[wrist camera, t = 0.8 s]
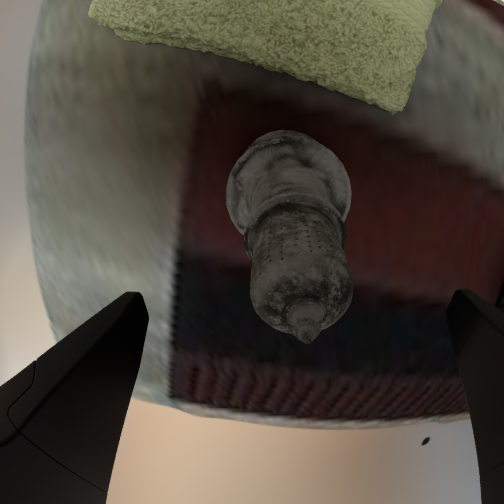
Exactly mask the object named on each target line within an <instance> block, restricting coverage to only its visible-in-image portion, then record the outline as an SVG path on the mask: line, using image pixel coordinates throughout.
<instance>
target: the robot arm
mask: <svg viewBox="0 0 504 504" xmlns="http://www.w3.org/2000/svg"><path fill="white" fill-rule="evenodd" d="M496 307H497V308H496ZM496 307H494V306H493V305H491V304H490V303H488V302H487V301H485V300H484V299H482V298H481V297H479V296H478V295H477V294H475V293H474V292H472V291H471V290H469V289H458V290H456V291H455V293H454V295H453V297H452V300H451V302H450V304H449V307H448V309H447V313H446V318H447V322H448V326H449V331H450V335H451V339H452V344H453V349H454V354H455V358H456V362H457V366H458V370H459V373H460V377H461V380H462V384H463V388H464V392H465V396H466V400H467V404H468V409H469V413H470V418H471V423H472V428H473V434H474V439H475V445H476V452H477V458H478V466H479V475H480V487H481V501H482V504H504V313H503V312H501V311H500V310H504V289H503V291H502V294H501V296H500V298H499V300H498V302H497V304H496ZM148 322H149V315H148V311H147V308H146V305H145V302H144V299H143V296H142V294H141V293H139V292H126V293H124V294H123V295H121V296H120V297H118V298H117V299H116V300H114V301H113V302H112V303H110V304H109V305H107V306H106V307H105V308H103V309H102V310H101V311H99V312H98V313H96V314H95V315H94V316H92V317H91V318H90V319H88V320H87V321H86V322H84V323H83V324H82V325H80V326H79V327H78V328H76V329H75V330H74V331H72V332H71V333H70V334H68V335H67V336H66V337H64V338H63V339H62V340H60V341H59V342H58V343H57V344H55V345H54V346H53V347H51V348H50V349H49V350H47V351H46V352H45V353H44V354H42V355H41V356H40V357H38V358H37V361H33V362H32V363H31V364H30V365H28V366H27V367H26V368H24V369H23V370H22V371H21V372H19V373H18V374H17V375H15V376H14V377H13V378H11V379H10V380H8V381H7V382H6V383H4V384H3V385H1V386H0V504H106V499H107V492H108V488H109V483H110V479H111V474H112V470H113V465H114V461H115V457H116V452H117V448H118V444H119V440H120V436H121V432H122V428H123V425H124V421H125V417H126V413H127V410H128V406H129V403H130V399H131V396H132V392H133V389H134V385H135V382H136V378H137V375H138V371H139V368H140V363H141V358H142V353H143V347H144V342H145V337H146V332H147V327H148Z"/></svg>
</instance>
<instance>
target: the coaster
mask: <svg viewBox="0 0 504 504" xmlns="http://www.w3.org/2000/svg"><path fill="white" fill-rule="evenodd" d="M494 1H495V2H497V3H499V4H501V5H503V6H504V0H494Z"/></svg>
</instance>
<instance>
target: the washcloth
mask: <svg viewBox="0 0 504 504" xmlns="http://www.w3.org/2000/svg"><path fill="white" fill-rule="evenodd" d="M442 2H443V0H93V1H92V3H91V5H90V7H89V8H90V9H89V12H88V15H89V17H90V18H92V19H94V20H97V21H98V25H99V26H108V27H110V28H111V29H114V32H115V34H116V35H117V36H120V37H121V38H123V39H124V40H127V41H137V42H140V43H143V45H144V44H146V43H150V42H152V43H163V44H167V45H169V46H172V47H180V48H183V47H184V48H189V49H192V50H194V51H197V50H201V51H203V52H209V51H211V52H214V53H215V54H216V55H220V56H225V57H228V58H233V59H237V60H238V61H241V62H243V61H244V62H246V63H250V64H252V63H254V64H255V65H257V66H258V65H260V66H263V67H264V68H265V69H268V70H270V71H278V72H280V73H283V72H287V73H288V74H289V75H292V76H294V77H296V78H297V79H298V80H303V81H313V83H315V84H317V83H318V84H319V85H320V86H323V87H325V88H327V89H329V90H330V91H338V92H340V93H343V94H345V95H347V96H349V97H352V98H357V99H360V100H361V101H364V102H367V103H368V104H370V105H371V104H374V105H377V106H378V107H379V108H381V109H383V110H386V111H387V112H389V111H390V112H391V113H392V115H394V113H396V112H397V111H403V108H404V107H405V105H406V102H407V101H408V98H409V94H410V92H411V88H412V87H413V84H414V79H415V77H416V67H417V65H418V64H420V63H421V59H422V56H423V55H424V52H425V51H426V49H427V48H426V47H427V41H426V38H425V35H426V32H427V30H428V28H429V24H430V22H431V19H432V15H433V12H434V10H435V9H437V8H438V7H439V6H440V5H441V4H442Z"/></svg>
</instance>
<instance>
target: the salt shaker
mask: <svg viewBox="0 0 504 504" xmlns="http://www.w3.org/2000/svg"><path fill="white" fill-rule="evenodd" d="M351 195H352V193H351V185H350V179H349V176H348V174H347V172H346V170H345V168H344V165H343V164H342V162H341V161H340V160H339V159H338V158H337V157H336V155H335V154H334V153H333V152H332V151H331V150H329V149H328V148H326V147H325V146H323V145H322V144H320V143H319V142H317V141H316V140H314V139H313V138H311V137H309V136H308V135H306V134H304V133H301V132H297V131H294V130H278V131H273V132H269V133H267V134H265V135H263V136H261V137H259V138H257V139H256V140H255V141H254V142H253V143H252V144H251V145H250V146H249V147H248V148H247V150H246V152H245V153H244V154H243V155H242V156H241V157H240V158H239V159H238V160H237V162H236V164H235V166H234V167H233V169H232V171H231V172H230V174H229V178H228V182H227V186H226V206H227V209H228V212H229V215H230V218H231V220H232V221H233V223H234V224H235V226H236V227H237V229H238V230H239V232H240V233H241V234H243V235H244V247H245V250H246V253H247V256H248V258H249V259H250V260H251V262H252V271H251V282H250V296H251V300H252V303H253V306H254V309H255V311H256V313H257V314H258V315H259V316H260V318H261V319H262V320H264V321H265V322H266V323H268V324H269V325H271V326H272V327H273V328H275V329H277V330H280V331H282V332H286V333H291V334H293V335H294V336H295V337H297V338H298V339H299V340H301V341H303V342H304V343H306V344H309V343H311V342H312V340H314V339H315V338H316V336H318V335H319V333H320V332H321V330H323V329H325V328H327V327H329V326H330V325H332V324H334V323H335V322H336V321H337V320H338V319H339V318H340V317H341V316H342V315H343V314H344V313H345V311H346V310H347V308H348V306H349V305H350V303H351V300H352V296H353V277H352V273H351V271H350V268H349V265H348V262H347V259H346V257H345V254H344V251H343V250H344V248H345V243H346V237H347V235H346V227H345V223H344V221H345V218H346V216H347V214H348V211H349V209H350V203H351Z"/></svg>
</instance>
